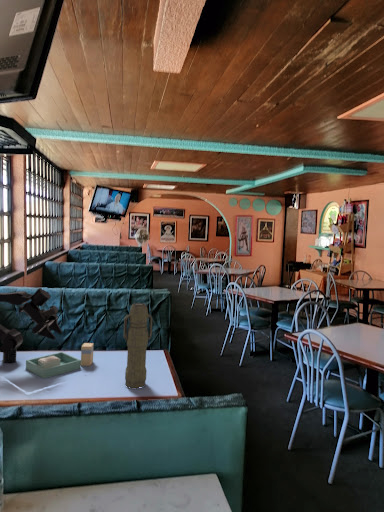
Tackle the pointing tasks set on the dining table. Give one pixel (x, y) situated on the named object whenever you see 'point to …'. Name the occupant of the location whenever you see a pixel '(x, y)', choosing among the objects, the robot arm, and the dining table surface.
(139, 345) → the thermos
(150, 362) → the dining table surface
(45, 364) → the beige rectangular block
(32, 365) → the tote
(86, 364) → the oat carton
